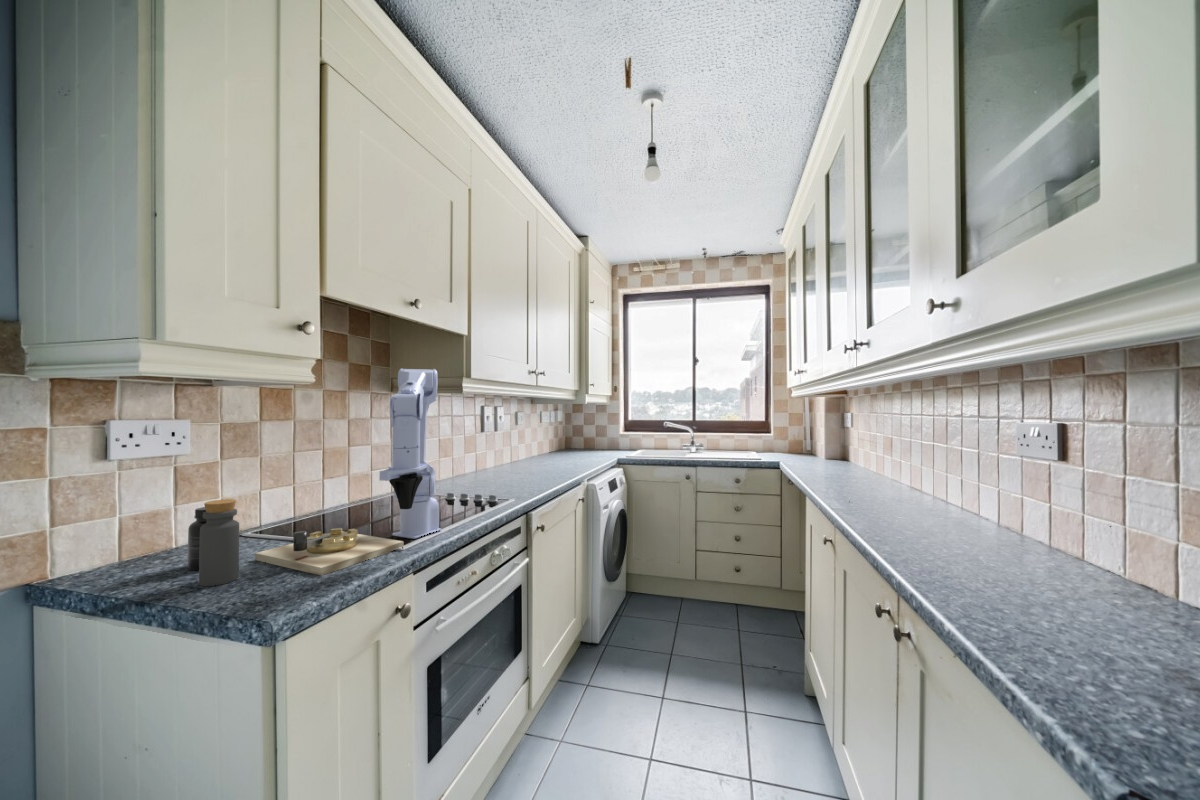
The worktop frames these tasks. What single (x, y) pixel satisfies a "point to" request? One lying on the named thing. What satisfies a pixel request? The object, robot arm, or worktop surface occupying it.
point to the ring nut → (325, 541)
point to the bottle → (219, 544)
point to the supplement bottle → (195, 539)
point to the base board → (328, 555)
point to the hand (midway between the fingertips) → (405, 508)
